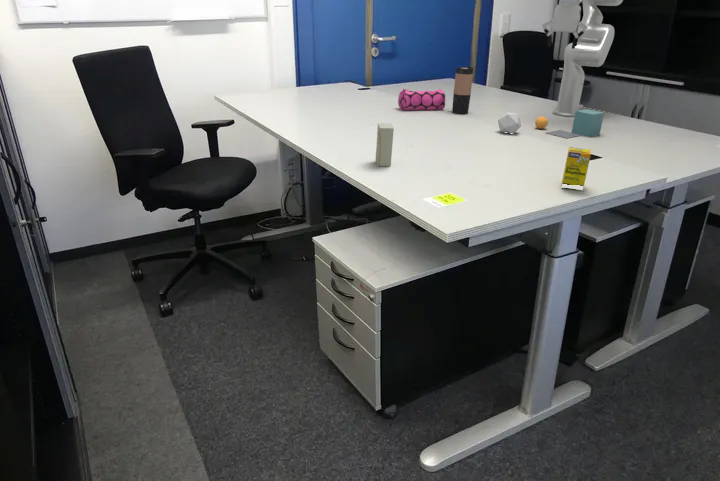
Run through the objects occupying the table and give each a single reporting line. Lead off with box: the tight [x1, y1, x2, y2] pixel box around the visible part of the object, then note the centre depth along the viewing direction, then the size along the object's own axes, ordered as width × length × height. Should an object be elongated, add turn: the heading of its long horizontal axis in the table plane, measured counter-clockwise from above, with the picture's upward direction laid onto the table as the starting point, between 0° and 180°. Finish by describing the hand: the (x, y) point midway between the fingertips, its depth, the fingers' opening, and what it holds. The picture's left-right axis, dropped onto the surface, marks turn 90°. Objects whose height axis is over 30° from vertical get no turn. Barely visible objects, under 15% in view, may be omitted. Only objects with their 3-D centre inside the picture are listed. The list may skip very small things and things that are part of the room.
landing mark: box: [545, 129, 582, 139], centre depth 217 cm, size 10×10×1 cm
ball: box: [534, 115, 549, 130], centre depth 223 cm, size 5×5×5 cm
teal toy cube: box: [570, 108, 605, 138], centre depth 217 cm, size 8×8×9 cm
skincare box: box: [375, 122, 395, 167], centre depth 169 cm, size 6×4×12 cm
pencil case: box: [397, 87, 446, 111], centre depth 251 cm, size 21×10×10 cm, turn 107°
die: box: [497, 111, 522, 134], centre depth 214 cm, size 8×9×10 cm
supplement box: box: [561, 146, 592, 186], centre depth 154 cm, size 6×6×11 cm
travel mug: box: [451, 66, 474, 115], centre depth 245 cm, size 8×8×20 cm
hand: (560, 47), depth 221 cm, fingers open, 9 cm apart
